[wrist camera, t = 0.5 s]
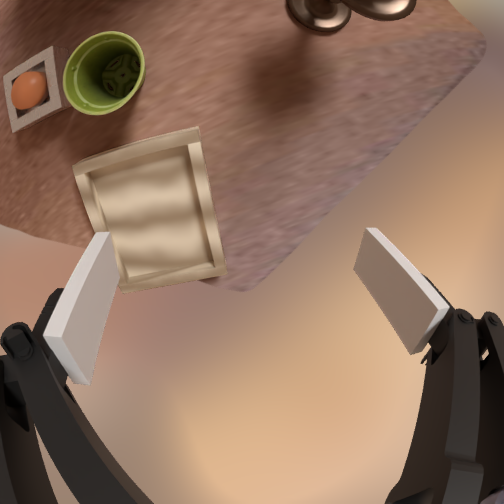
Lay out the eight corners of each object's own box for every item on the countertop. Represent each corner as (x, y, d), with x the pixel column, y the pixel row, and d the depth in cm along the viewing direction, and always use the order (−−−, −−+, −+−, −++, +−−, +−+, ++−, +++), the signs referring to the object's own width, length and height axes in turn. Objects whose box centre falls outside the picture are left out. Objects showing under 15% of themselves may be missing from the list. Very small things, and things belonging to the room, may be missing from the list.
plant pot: (117, 123, 31) (94, 133, 24) (79, 77, 26) (48, 77, 19) (172, 77, 29) (162, 72, 22) (132, 30, 24) (113, 15, 17)
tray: (83, 158, 32) (71, 166, 29) (198, 126, 33) (197, 129, 30) (127, 278, 44) (122, 293, 40) (225, 259, 45) (227, 274, 42)
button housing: (19, 75, 23) (3, 76, 19) (67, 48, 23) (52, 45, 19) (28, 127, 28) (12, 133, 24) (76, 104, 28) (61, 107, 24)
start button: (20, 81, 21) (8, 82, 19) (47, 65, 22) (36, 64, 19) (25, 112, 24) (14, 115, 22) (52, 98, 25) (41, 99, 22)
